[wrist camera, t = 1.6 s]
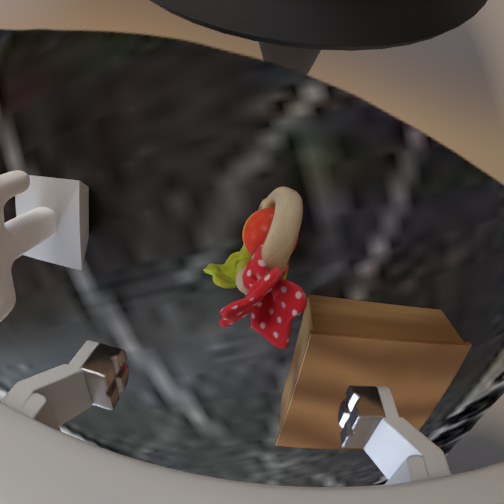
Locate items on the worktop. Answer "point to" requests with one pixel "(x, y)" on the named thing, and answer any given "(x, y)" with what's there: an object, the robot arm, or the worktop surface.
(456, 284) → the worktop surface
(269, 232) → the bird rattle
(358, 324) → the wooden block
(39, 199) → the figurine
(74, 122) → the worktop surface
